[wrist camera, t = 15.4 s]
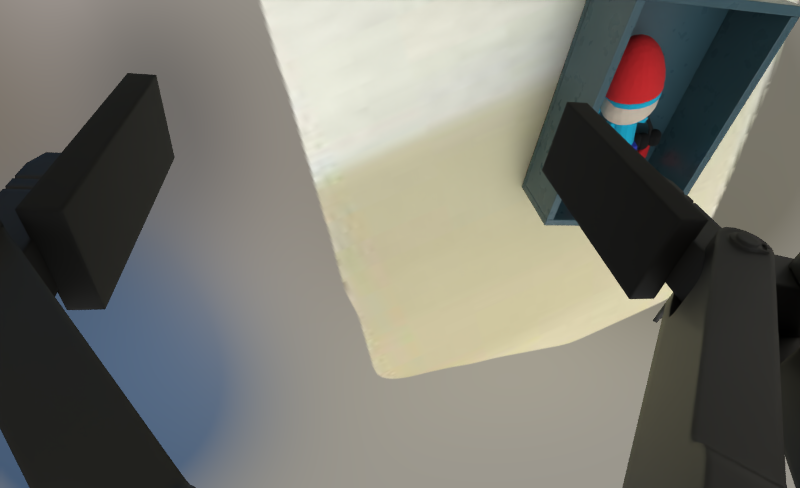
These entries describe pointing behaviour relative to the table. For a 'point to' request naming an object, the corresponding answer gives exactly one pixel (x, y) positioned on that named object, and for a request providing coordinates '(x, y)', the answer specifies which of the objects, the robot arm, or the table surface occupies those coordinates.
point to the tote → (667, 78)
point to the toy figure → (636, 92)
